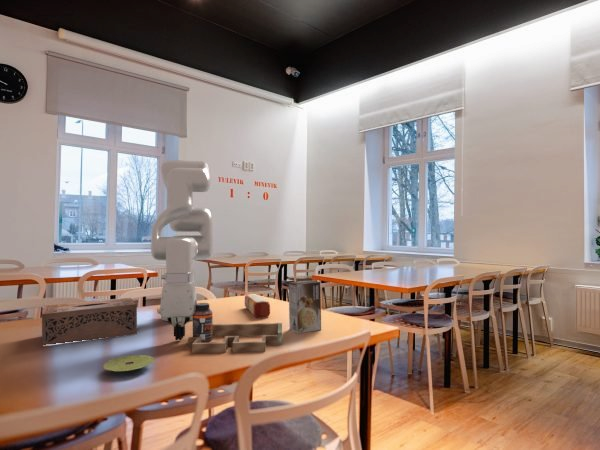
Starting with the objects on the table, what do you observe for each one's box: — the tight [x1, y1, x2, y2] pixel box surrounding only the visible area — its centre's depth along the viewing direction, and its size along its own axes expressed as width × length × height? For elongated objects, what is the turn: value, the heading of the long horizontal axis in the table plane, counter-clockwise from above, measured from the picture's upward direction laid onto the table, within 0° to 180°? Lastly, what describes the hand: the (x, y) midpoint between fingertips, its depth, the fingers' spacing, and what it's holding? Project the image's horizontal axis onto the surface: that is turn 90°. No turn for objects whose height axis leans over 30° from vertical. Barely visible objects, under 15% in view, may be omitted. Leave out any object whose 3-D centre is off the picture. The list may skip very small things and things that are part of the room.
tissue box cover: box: [41, 297, 138, 346], centre depth 125 cm, size 26×14×10 cm, turn 121°
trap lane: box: [187, 322, 283, 354], centre depth 114 cm, size 27×17×4 cm, turn 93°
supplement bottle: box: [192, 302, 214, 343], centre depth 117 cm, size 6×6×11 cm
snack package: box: [244, 293, 271, 319], centre depth 155 cm, size 21×7×7 cm, turn 18°
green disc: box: [102, 354, 155, 372], centre depth 93 cm, size 11×11×2 cm
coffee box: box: [288, 279, 322, 334], centre depth 128 cm, size 9×6×16 cm
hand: (179, 338), depth 116 cm, fingers closed
